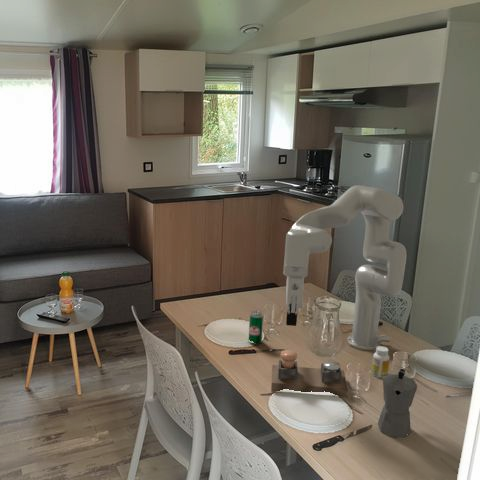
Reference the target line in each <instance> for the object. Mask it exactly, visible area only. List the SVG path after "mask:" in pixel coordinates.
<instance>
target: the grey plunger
mask: <svg viewBox="0 0 480 480" xmlns="http://www.w3.org/2000/svg"><path fill="white" fill-rule="evenodd" d="M323 364H324V365H323V367H324V369H325V371H326V372H337V371H338V370H339V369H341V365H340V363H339V362H338V361H335V360H325V361H324V362H323Z"/></svg>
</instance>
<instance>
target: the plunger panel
mask: <svg viewBox="0 0 480 480" xmlns="http://www.w3.org/2000/svg"><path fill="white" fill-rule="evenodd" d="M323 365H324V362H323V363H321V365H320V368H315V367H304V366H298V361H296V360H295V363H294V369H288V368H282V359H279V360H278V364H272V369H271V389H270V391H271V392H276V391H280V390H283V389H289V390H294V391H301V392H311V391H312V392H324V391H325V392H330V393H333V394H335V395H338V396H339V397H338V398H348V393H349V389H348V388H349V387H348V383H347V378H346V375H345V370H344V369H343V370H342V369H341V368H340V369H339V370H338V371H337V372H326V371H325V369H324V367H323ZM276 393H277V392H276Z"/></svg>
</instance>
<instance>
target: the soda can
mask: <svg viewBox="0 0 480 480" xmlns="http://www.w3.org/2000/svg"><path fill="white" fill-rule="evenodd" d="M263 325H264V315H263V312H262V311H260V310H252V311H251V312H250V314H249V325H248V326H249V327H248V341H249V340H250V341H253V342H254V343H256V344H255V345H259V344H261V343H262V341H263V327H264V326H263Z"/></svg>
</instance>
